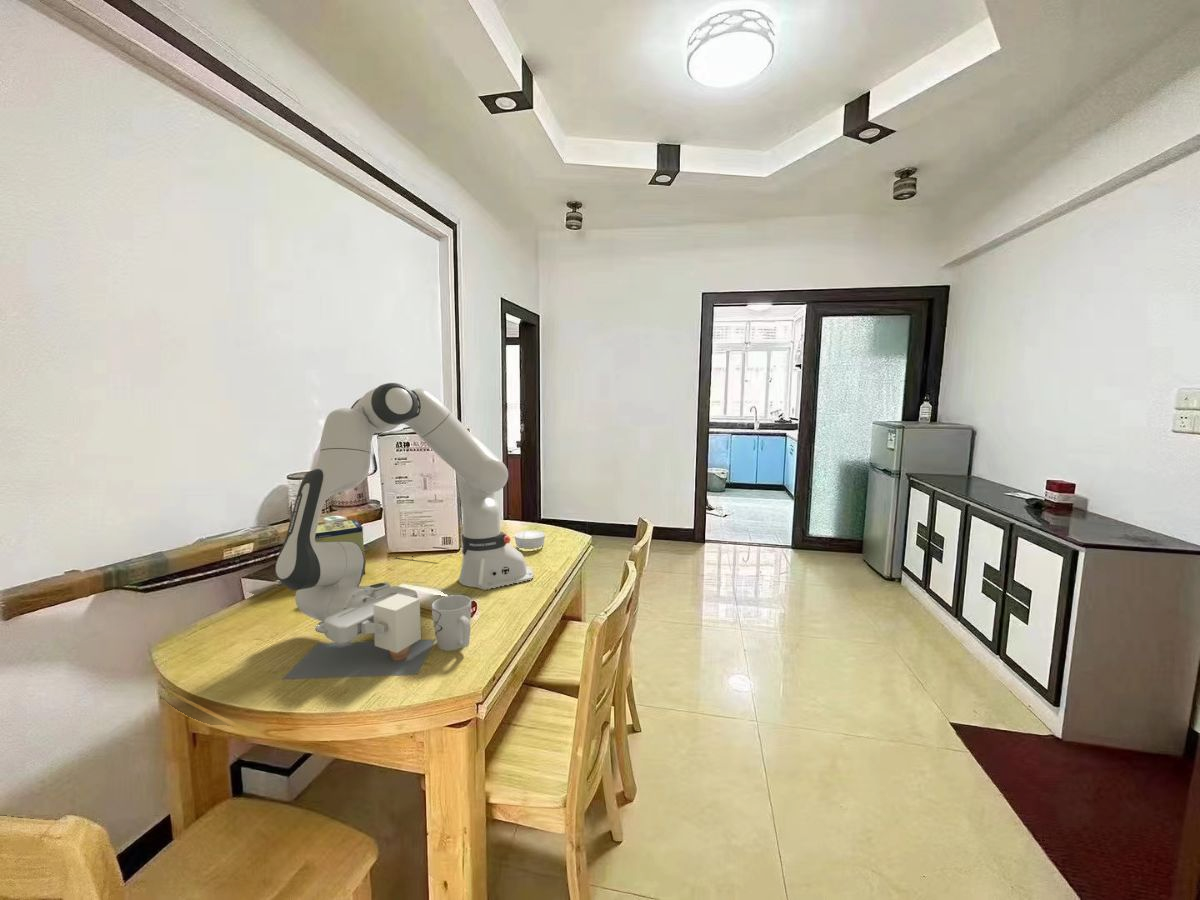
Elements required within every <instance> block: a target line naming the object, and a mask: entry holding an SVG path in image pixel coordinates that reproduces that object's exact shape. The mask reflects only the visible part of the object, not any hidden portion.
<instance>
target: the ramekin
mask: <svg viewBox="0 0 1200 900" xmlns="http://www.w3.org/2000/svg"><path fill="white" fill-rule="evenodd" d="M514 539H515V544H516V547H517V546H518V547H519V548H524V549H534V548H539V547H541V546H543V547H544V544H545V539H546V533H545V532H544V531H541V530H524V531H520V532H517V533H515V534H514Z"/></svg>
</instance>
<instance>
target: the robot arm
mask: <svg viewBox="0 0 1200 900" xmlns="http://www.w3.org/2000/svg"><path fill="white" fill-rule="evenodd" d="M402 424H403V425H405V426H407V427H409V428H410V429H412V430H413V431H414V433H416V435H417V436H418V437H419V438H420V439H421V440H422V441H423V442H424V443H425V444H426V445H427V447H429V448H430V449H431V450H432V451H433V452H434V453H435V454H436V455H437V456H438V457H439V458H440V459H441V460H443V461H444V462H445V463H446V464H447V465H448V466H450V467H451V469H452V470H454V471H455V474H456V478H457V479H456V480H457V486H458V491H459V498H460V503H461V509H462V510H461V511H462V534H461V541H460V543H461V544H460V545H461V546H460V547H461V549H462V561H461V569H460V574H459V577H458V582H459V584H461V585H463V586H466V587H469V588H478V589H480V590H484V591H486V590H487V589H488V590H492V589H491V588H493V589H497V588H496V587H498V588H501V587H500V586H502V587H505V586H504V585H507V586H509V585H508V584H512V585H514V584H513V583H517V582H521V581H526V580H530V579H532V578H533V579H534V577H533V574H534V570H533V569H532V567H530V566H529V565H528V564H527V562H526V559H525V557H524V555H523V553H522V551H520V550H519V549H517V548H515V547H514V546H512V545H511V544H510V542H511V537H510V536H509V535H508V534H507V533H506V532H504V531H501V508H500V507H501V506H500V504H499V501H498V498H497V494H496V493H497V492H499V491H500V490H501V489H503V488H504V487H505V486H506V484H507V482H508V479H509V470H508V468H507V465H506V464H505V463H504V462H503V461H502V460H501V459H500V458H499V457H498V456H497V455H496V454H494V452H493V451H492V450H491V449H489V447H487V446H486V445H485V444H484V443H483V442H482V441H481V440H480V439H478V438H477V437H476V436H475V435H474V434H473V433H472V432H470V431H469V430H468V428H467V427H466V426H464V425H463V423H462V422H461V421H460V420H459V419H458V418H457V416H455V414H453V412H452V411H451V410H450V409H448V407H447V406H446V405H445V404H444V403H443V402H441V400H439V399H438V398H437V397H435V396H434V395H433V394H432V393H430V392H429V391H427V389H423V388H415V389H410V388H409V387H407V386H405V385H403V384H401V383H397V382H388V383H383V384H381V385H379V386H377V387H375V388H373V389H371V390H368V391H367V392H366V393H365V394H364V395H363V396H361V397H360V398H359V399H357V400H356V401H355V402H354V403H353V404H352V405H351V407H350V408H348V407H344V408H337V409H334V410H332V411H331V412H329V413H328V415H327V417H326V418H325V421H324V426H323V428H322V433H321V437H320V443H319V452H318V453H319V455H318V459H317V461H316V463H315V465H314V467H313V469H312V470H310V471H308V472H307V473H305V475H304V476H303V478H302V479H301V480H302V481H301V482H300V485H299V488H298V491H297V495H296V497H295V503H294V505H293V507H292V512H291V513H292V514H291V516H290V520H289V524H288V527H287V531H286V535H285V539H284V542H283V544H282V546H281V549H280V550H279V553H278V555H277V558H276V561H275V564H274V565H275V566H274V573H275V576H276V578H277V579H278V581H279V582H280V584H282V585H283V586H284V587H285V588H287V589H288V590H290V591H295V597H294V600H295V605H296V606H297V608H298V610H299V611H300V612H301V613H302V614H304V615H306V616H307V617H309V618H312V619H314V620H317V621H320V622H318V623H317V625H316V626H315V627H314V630H315V632H316V633H320V634H324V636H325V638H327V639H328V640H330V641H332V642H336V643H339V644H342V643H348V642H352V641H353V640H355V639H357V638H359V637H361V636H364V635H367V634H368V635H369V634H370V635H371V634H374V633H379V634H383V633H384V632H386V631H388V628H387V627H388V624H387V623H384V622H380V623H374V614H373V605H374V604H376V603H378V602H380V601H383V600H385V599H387V598H389V597H391V596H394V595H396V594H402V595H406V596H410V597H414V598H418V599H419V596H418V593H417V591H416V590H414V589H411V588H407V587H403V586H399V585H398V586H397V585H392V586H391V583H390V582H379V583H374V584H370V585H360V584H361V582H362V578H363V576H364V575H365V574H364V571H365V572H366V561H367V559H366V555H365V551H364V552H363V550H362V549H361V547H360V546H359V545H358V544H356V543H354V542H316V541H315V535H316V530H317V526H318V525H319V522H320V517H321V513H322V509H323V506H324V504H325V502H326V501H327V500H328V499H329V498H330V497H332V496H333V495H336V494H338V493H342V492H345V491H348V490H351V489H353V488H355V487H357V486H358V485H360V484H361V483H362V482H363V481H364V480H366V478H367V477H368V475H369V471H370V467H371V454H372V453H371V451H372V450H371V449H372V440H373V437H374V436H378V435H381V434H384V433H386V432H390V431H392V430H394V429H396V428H398V426H400V425H402ZM533 579H532V580H533ZM530 581H531V580H530ZM526 582H527V581H526ZM521 583H522V582H521ZM517 584H518V583H517Z"/></svg>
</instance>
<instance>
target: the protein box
mask: <svg viewBox="0 0 1200 900" xmlns="http://www.w3.org/2000/svg"><path fill="white" fill-rule="evenodd" d="M363 528H364V527H363V526H362V525H361V524H360V523H359V521H358V520H357V519H351V520H347V521H343V522H337V523H329V524H323V523H322V524H318V526H317V530H316V535H315V541H316V542H354V543H356V544H358V545H359V546H360V547H361V549H362V550H363V552H364V553H365V544H364V532H363V531H364V529H363ZM364 573H365V574H366V570H365V571H364Z"/></svg>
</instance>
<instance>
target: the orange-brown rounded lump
mask: <svg viewBox="0 0 1200 900" xmlns="http://www.w3.org/2000/svg"><path fill="white" fill-rule="evenodd" d="M409 653H410V646H408V647H406V648H405V649H403V650H401V651H400V652H398V653H396V652H392V651H390V657H392V659H393V660H396V661H399V660H403V659H405V658H407V657H408V654H409Z"/></svg>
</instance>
